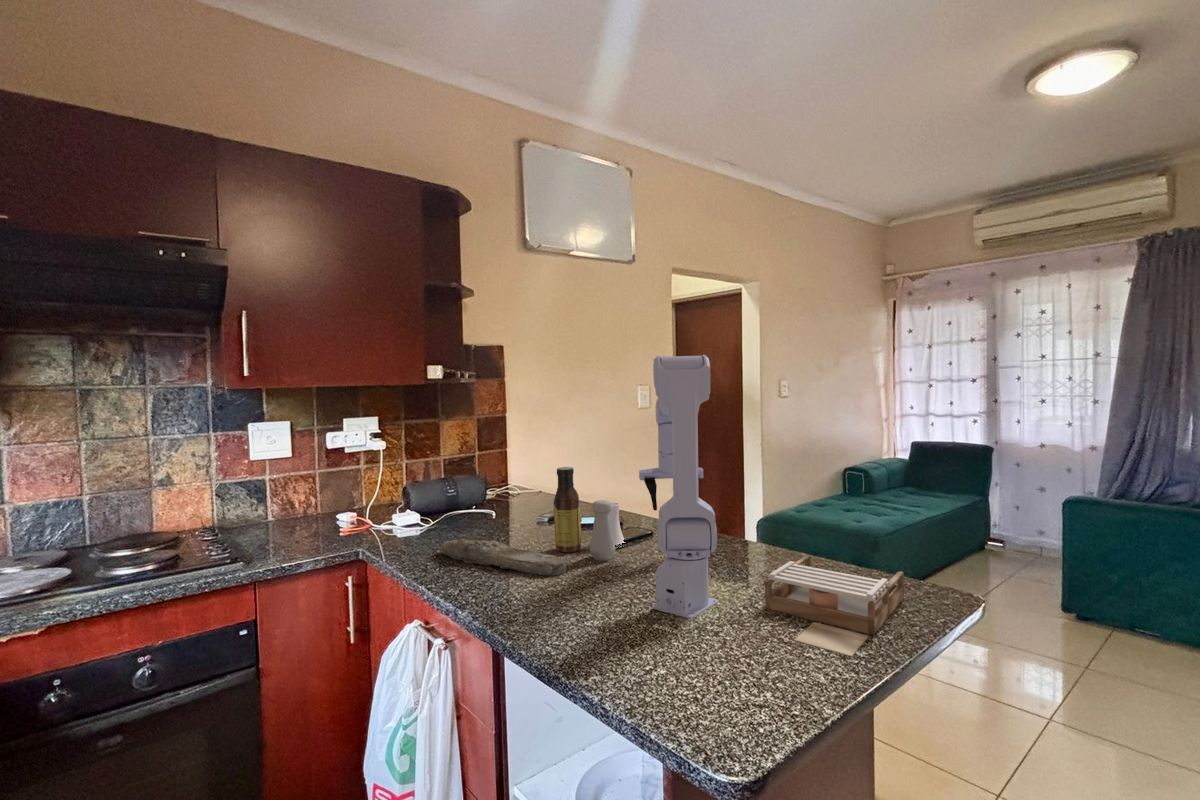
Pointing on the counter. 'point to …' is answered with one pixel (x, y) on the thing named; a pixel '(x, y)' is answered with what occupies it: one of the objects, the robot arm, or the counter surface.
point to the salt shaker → (602, 532)
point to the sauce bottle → (567, 513)
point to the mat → (832, 639)
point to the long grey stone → (503, 556)
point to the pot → (823, 598)
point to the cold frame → (850, 609)
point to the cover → (830, 581)
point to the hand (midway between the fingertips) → (671, 508)
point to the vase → (616, 524)
